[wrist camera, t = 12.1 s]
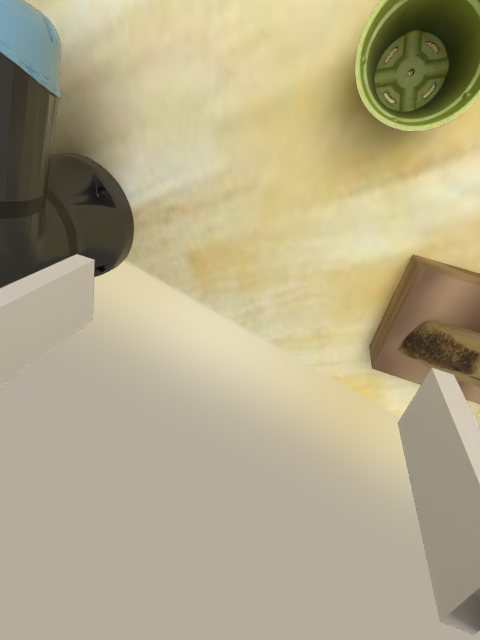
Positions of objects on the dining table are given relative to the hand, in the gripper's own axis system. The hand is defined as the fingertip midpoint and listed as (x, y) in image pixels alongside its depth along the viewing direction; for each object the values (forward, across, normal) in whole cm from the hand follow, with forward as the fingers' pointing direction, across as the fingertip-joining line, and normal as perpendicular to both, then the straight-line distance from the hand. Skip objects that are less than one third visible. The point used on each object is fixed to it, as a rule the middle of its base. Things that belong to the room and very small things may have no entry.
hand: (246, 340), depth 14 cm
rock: (+24, +19, -7) cm, 32 cm away
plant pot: (+29, +5, +14) cm, 33 cm away
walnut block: (+29, +20, -7) cm, 36 cm away
